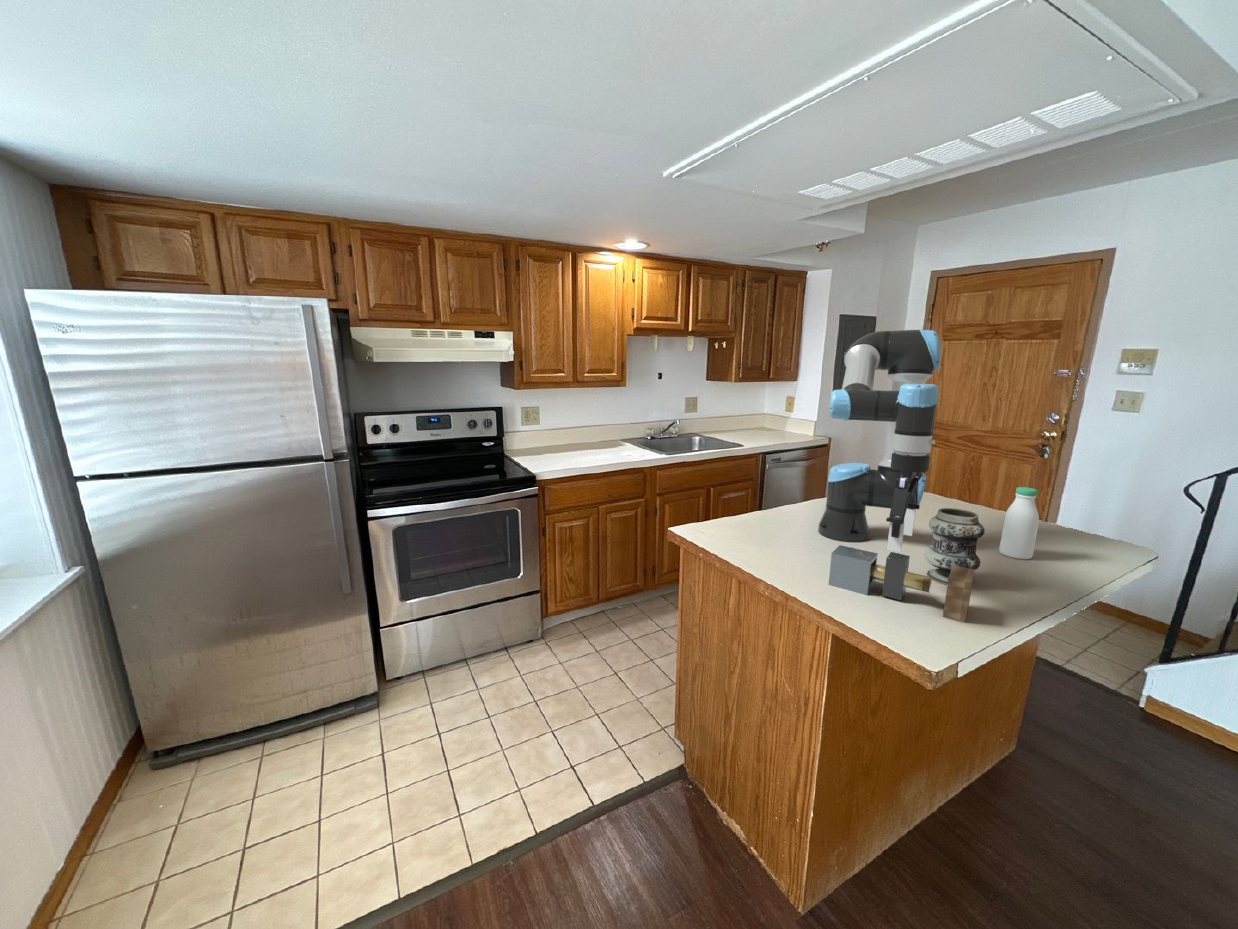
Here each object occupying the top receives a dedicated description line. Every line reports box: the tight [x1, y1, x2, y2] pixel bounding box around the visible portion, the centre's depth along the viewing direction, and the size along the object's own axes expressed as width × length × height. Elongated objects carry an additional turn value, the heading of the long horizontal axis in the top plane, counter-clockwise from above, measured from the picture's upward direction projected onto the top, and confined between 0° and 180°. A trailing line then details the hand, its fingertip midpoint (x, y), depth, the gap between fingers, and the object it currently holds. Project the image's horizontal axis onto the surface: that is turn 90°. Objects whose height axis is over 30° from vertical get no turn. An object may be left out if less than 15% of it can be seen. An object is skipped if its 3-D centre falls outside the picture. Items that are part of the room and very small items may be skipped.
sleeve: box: [828, 544, 879, 596], centre depth 122 cm, size 9×7×8 cm
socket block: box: [942, 565, 975, 623], centre depth 109 cm, size 4×8×10 cm, turn 140°
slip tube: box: [870, 551, 933, 601], centre depth 118 cm, size 20×5×10 cm, turn 50°
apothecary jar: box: [923, 507, 986, 586], centre depth 125 cm, size 12×12×18 cm
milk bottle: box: [998, 486, 1040, 560], centre depth 140 cm, size 8×8×20 cm
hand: (900, 542), depth 114 cm, fingers open, 13 cm apart
